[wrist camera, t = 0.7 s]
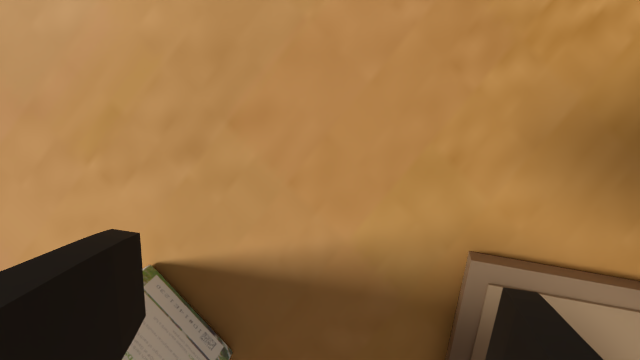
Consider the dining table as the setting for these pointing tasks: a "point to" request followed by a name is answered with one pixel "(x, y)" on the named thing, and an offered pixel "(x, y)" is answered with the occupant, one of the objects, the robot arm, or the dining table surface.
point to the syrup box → (172, 327)
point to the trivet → (560, 292)
